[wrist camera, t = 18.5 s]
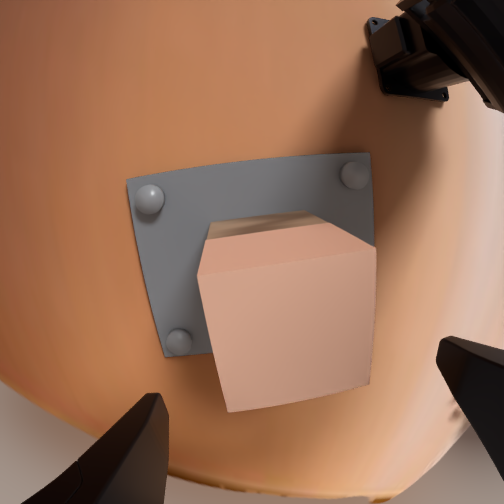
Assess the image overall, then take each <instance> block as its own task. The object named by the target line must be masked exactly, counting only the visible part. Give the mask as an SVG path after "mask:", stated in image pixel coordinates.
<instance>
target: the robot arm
mask: <svg viewBox="0 0 504 504" xmlns="http://www.w3.org/2000/svg"><path fill="white" fill-rule="evenodd" d="M396 6H397V7H398V8H399V9H401V10H402V11H405V12H404V13H403V14H401V15H400V16H395V17H393V18H392V19H391V20H386V19H381V18H375V17H371V18H369V19H368V20H367V26H368V30H369V34H370V37H369V40H370V44H371V49H372V54H373V58H374V64H375V66H376V68H377V72H378V77H379V83H380V89H381V91H382V93H383V94H385V95H390V96H400V97H410V98H418V99H426V100H433V101H440V102H445V101H448V99H449V94H448V89H447V86H451V85H455V84H459V83H463V82H467V81H470V82H471V83H472V85H473V86H474V87H475V89H476V90H477V91H478V93H479V94H480V96H481V97H482V98H483V102H484V103H485V105H486V106H487V107H488V108H491V109H495V110H498V111H500V112H502V113H504V0H400V1H399V2H398V3H397V4H396ZM372 22H374V23H375V25H374V24H373V23H372ZM386 86H388V87H389V91H388V90H387V89H386ZM442 94H443V96H444V97H443V96H442ZM436 364H437V366H438V368H439V370H440V372H441V374H442V376H443V378H444V379H445V381H446V383H447V385H448V387H449V389H450V391H451V393H452V395H453V397H454V398H455V400H456V402H457V403H458V405H459V406H460V408H461V409H462V411H463V412H464V414H465V416H466V417H467V419H468V420H469V422H470V424H471V425H472V427H473V428H474V430H475V432H476V433H477V435H478V437H479V438H480V440H481V442H482V443H483V445H484V447H485V448H486V450H487V452H488V454H489V455H490V457H491V459H492V461H493V462H494V464H495V466H496V468H497V470H498V472H499V473H500V475H501V477H502V479H503V481H504V350H502V349H498V348H494V347H491V346H487V345H483V344H480V343H476V342H472V341H469V340H465V339H461V338H458V337H454V336H448V337H445V338H443V339H441V341H440V343H439V347H438V352H437V356H436ZM168 461H169V415H168V411H167V408H166V406H165V403H164V401H163V398H162V396H161V394H160V393H147V394H145V395H144V396H143V397H142V398H141V399H140V400H139V401H138V402H137V403H136V404H135V405H134V406H133V407H132V408H131V409H130V410H129V411H128V412H127V413H126V414H125V415H124V416H123V417H121V418H120V419H119V420H118V421H117V422H116V423H115V424H114V425H113V426H112V427H111V428H110V429H109V430H108V431H107V432H106V433H105V434H104V435H103V436H102V437H101V438H100V439H99V440H97V441H96V442H95V443H94V444H93V445H92V446H91V447H90V448H89V449H88V450H87V451H86V452H85V453H84V454H83V455H82V456H81V457H79V459H78V461H75V462H74V463H73V464H72V465H71V466H70V467H69V468H68V469H66V470H65V471H64V472H63V473H62V474H61V475H59V476H58V477H57V478H56V479H55V480H53V481H52V482H51V483H49V484H48V485H47V486H45V487H44V488H43V489H41V490H40V491H38V492H37V493H35V494H34V495H33V496H31V497H30V498H28V499H27V500H25V501H24V502H22V503H21V504H164V495H165V487H166V478H167V470H168Z"/></svg>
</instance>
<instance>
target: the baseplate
mask: <svg viewBox="0 0 504 504" xmlns="http://www.w3.org/2000/svg"><path fill="white" fill-rule="evenodd" d="M126 181H127V188H128V195H129V201H130V207H131V213H132V219H133V225H134V230H135V236H136V241H137V246H138V251H139V256H140V261H141V265H142V270H143V275H144V279H145V283H146V288H147V292H148V296H149V300H150V304H151V308H152V312H153V316H154V320H155V323H156V327H157V331H158V334H159V338H160V341H161V345H162V348H163V352H164V355H165V357H173V356H185V355H196V354H206V353H213V350H212V345H211V341H210V336H209V332H208V327H207V323H206V318H205V313H204V309H203V304H202V299H201V294H200V289H199V284H198V279H197V273H198V269H199V265H200V261H201V257H202V253H203V249H204V244H205V240H207V236H208V232H209V227H210V223H211V222H215V221H222V220H230V219H237V218H245V217H252V216H260V215H268V214H276V213H284V212H293V211H301V210H305V211H307V212H309V213H311V214H313V215H315V216H317V217H319V218H320V219H322V220H324V221H326V222H328V223H331V224H333V225H335V226H337V227H339V228H340V229H342V230H344V231H346V232H348V233H350V234H351V235H353V236H355V237H357V238H359V239H360V240H362V241H364V242H366V243H368V244H369V245H371V246H373V247H374V209H373V188H372V173H371V160H370V152H366V153H338V154H319V155H303V156H290V157H278V158H267V159H257V160H248V161H239V162H231V163H223V164H215V165H208V166H201V167H194V168H188V169H181V170H175V171H169V172H163V173H157V174H152V175H146V176H141V177H136V178H131V179H126Z"/></svg>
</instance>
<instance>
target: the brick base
mask: <svg viewBox="0 0 504 504" xmlns="http://www.w3.org/2000/svg"><path fill="white" fill-rule="evenodd" d="M323 223H328V222H326V221H324V220H322V219H320V218H319V217H317V216H315V215H313V214H311V213H309V212H307V211H305V210H301V211H293V212H284V213H276V214H268V215H260V216H252V217H245V218H237V219H230V220H222V221H215V222H211V223H210V227H209V232H208V236H207V240H209V239H216V238H223V237H229V236H236V235H243V234H250V233H257V232H264V231H271V230H278V229H286V228H293V227H300V226H308V225H315V224H323Z"/></svg>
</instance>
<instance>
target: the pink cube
mask: <svg viewBox="0 0 504 504" xmlns="http://www.w3.org/2000/svg"><path fill="white" fill-rule="evenodd" d="M197 279H198V284H199V289H200V294H201V299H202V304H203V309H204V313H205V318H206V323H207V327H208V332H209V336H210V341H211V345H212V350H213V354H214V358H215V363H216V367H217V371H218V375H219V379H220V383H221V387H222V391H223V395H224V399H225V403H226V407H227V411H228V413H229V412H237V411H245V410H252V409H259V408H265V407H271V406H277V405H283V404H288V403H294V402H299V401H304V400H308V399H313V398H317V397H322V396H326V395H330V394H335V393H339V392H342V391H346V390H350V389H354V388H358V387H361V386H365V385H368V384H369V381H370V372H371V362H372V351H373V339H374V324H375V303H376V248H375V247H373V246H371V245H369V244H368V243H366V242H364V241H362V240H360V239H359V238H357V237H355V236H353V235H351V234H350V233H348V232H346V231H344V230H342V229H340V228H339V227H337V226H335V225H333V224H331V223H323V224H315V225H308V226H300V227H293V228H286V229H278V230H271V231H264V232H257V233H250V234H243V235H236V236H229V237H223V238H216V239H209V240H205V244H204V249H203V253H202V257H201V261H200V265H199V269H198V273H197Z"/></svg>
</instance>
